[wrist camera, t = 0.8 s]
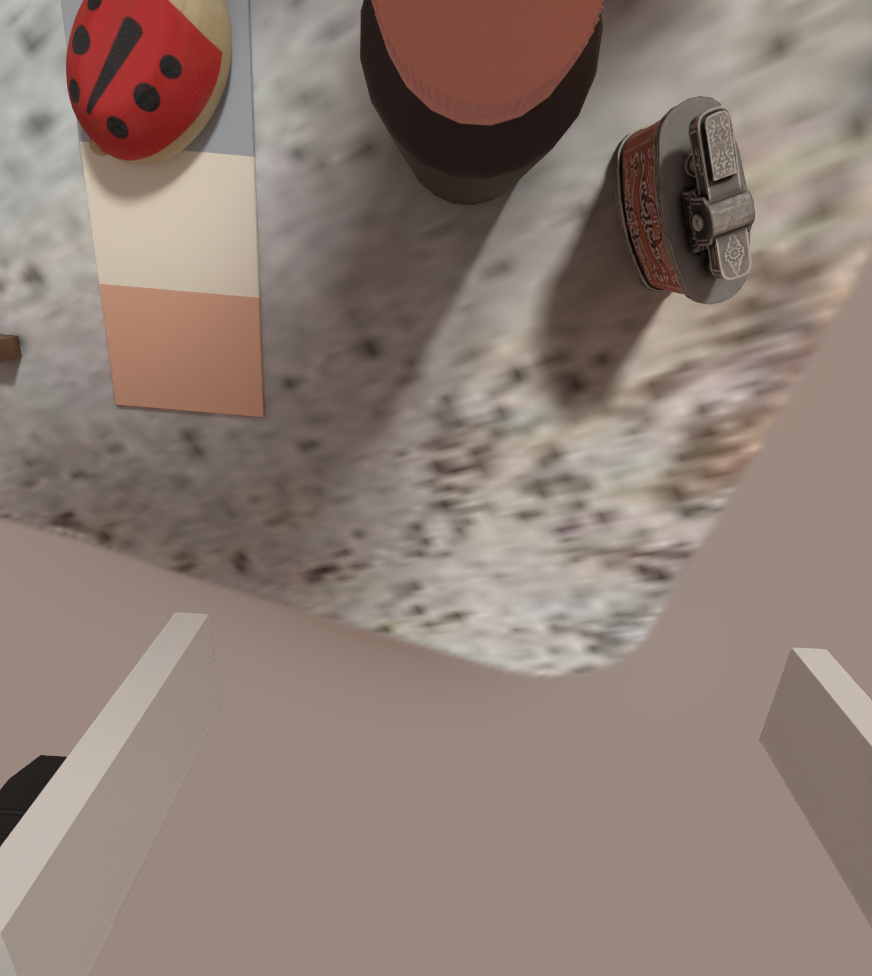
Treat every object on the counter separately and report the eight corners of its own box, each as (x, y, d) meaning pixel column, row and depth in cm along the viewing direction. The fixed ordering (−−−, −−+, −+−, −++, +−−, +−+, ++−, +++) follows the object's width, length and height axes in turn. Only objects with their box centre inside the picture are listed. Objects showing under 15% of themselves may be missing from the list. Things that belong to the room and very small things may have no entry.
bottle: (507, 24, 28) (605, -377, 10) (553, 170, 31) (702, 69, 12) (380, 91, 29) (255, -154, 11) (434, 227, 32) (404, 212, 13)
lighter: (696, 278, 32) (791, 293, 23) (634, 299, 33) (704, 323, 24) (667, 117, 30) (764, 63, 20) (601, 143, 30) (666, 102, 21)
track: (60, -27, 28) (56, -30, 28) (249, -10, 28) (247, -13, 28) (118, 403, 36) (115, 404, 36) (264, 415, 36) (262, 417, 36)
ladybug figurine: (268, 22, 28) (243, -6, 25) (173, 204, 32) (140, 200, 28) (142, -86, 27) (98, -131, 24) (56, 115, 30) (7, 101, 27)
